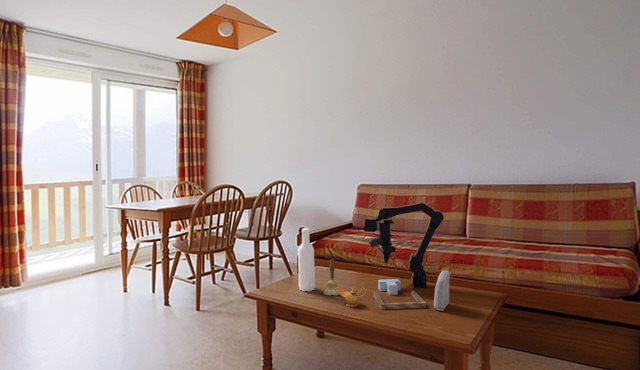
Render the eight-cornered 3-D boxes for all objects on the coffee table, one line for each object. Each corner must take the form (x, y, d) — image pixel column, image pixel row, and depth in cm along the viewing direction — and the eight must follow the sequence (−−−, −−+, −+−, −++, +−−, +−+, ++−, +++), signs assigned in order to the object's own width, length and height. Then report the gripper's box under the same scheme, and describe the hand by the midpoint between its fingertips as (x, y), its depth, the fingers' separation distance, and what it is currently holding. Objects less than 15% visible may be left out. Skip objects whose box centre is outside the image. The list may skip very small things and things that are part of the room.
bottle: (314, 286, 192) (313, 227, 191) (315, 291, 185) (313, 229, 184) (299, 287, 192) (297, 227, 191) (298, 291, 184) (297, 230, 183)
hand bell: (343, 291, 184) (342, 258, 183) (337, 296, 176) (336, 262, 176) (327, 289, 187) (327, 257, 187) (320, 294, 180) (320, 260, 179)
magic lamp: (337, 297, 175) (336, 273, 174) (370, 305, 163) (370, 280, 163) (327, 301, 169) (327, 277, 169) (361, 310, 158) (361, 284, 158)
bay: (414, 294, 176) (414, 290, 176) (426, 307, 160) (426, 302, 160) (373, 296, 175) (373, 292, 175) (381, 309, 159) (381, 304, 159)
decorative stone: (446, 312, 154) (445, 275, 153) (431, 310, 157) (430, 274, 156) (451, 304, 163) (450, 269, 163) (436, 302, 166) (436, 268, 166)
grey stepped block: (398, 287, 187) (398, 279, 187) (404, 294, 177) (403, 284, 177) (378, 288, 187) (378, 279, 187) (382, 295, 177) (382, 285, 177)
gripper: (366, 229, 201) (366, 259, 202) (372, 235, 183) (373, 268, 183) (387, 229, 202) (387, 258, 202) (395, 235, 183) (396, 267, 184)
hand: (385, 263), depth 193 cm, fingers closed
